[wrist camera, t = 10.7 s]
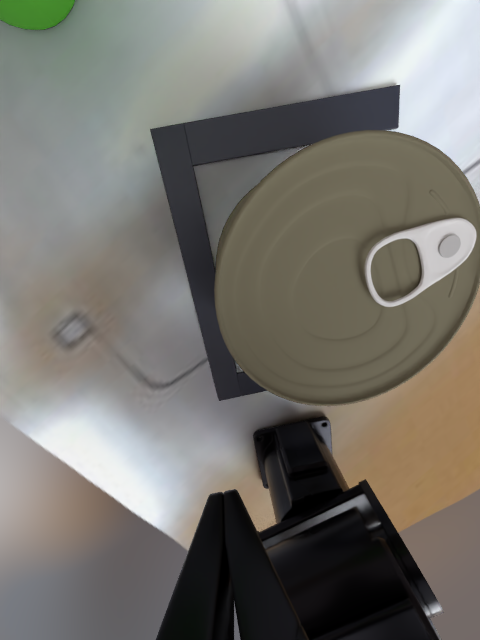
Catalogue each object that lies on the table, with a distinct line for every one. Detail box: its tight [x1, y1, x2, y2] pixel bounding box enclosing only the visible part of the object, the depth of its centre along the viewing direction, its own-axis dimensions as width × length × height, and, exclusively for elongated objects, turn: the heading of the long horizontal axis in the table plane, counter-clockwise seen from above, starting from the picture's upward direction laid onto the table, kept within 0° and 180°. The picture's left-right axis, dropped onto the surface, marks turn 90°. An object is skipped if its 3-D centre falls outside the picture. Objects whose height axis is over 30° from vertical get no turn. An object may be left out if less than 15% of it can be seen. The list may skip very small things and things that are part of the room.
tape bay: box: [150, 85, 400, 401], centre depth 18 cm, size 18×14×1 cm
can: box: [214, 130, 480, 406], centre depth 15 cm, size 12×12×7 cm
